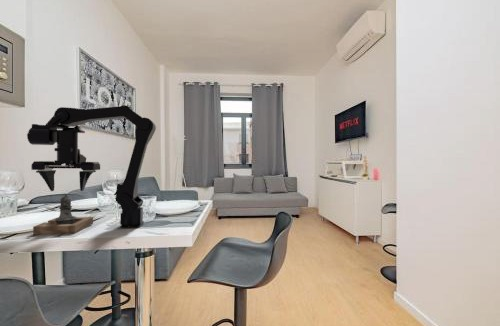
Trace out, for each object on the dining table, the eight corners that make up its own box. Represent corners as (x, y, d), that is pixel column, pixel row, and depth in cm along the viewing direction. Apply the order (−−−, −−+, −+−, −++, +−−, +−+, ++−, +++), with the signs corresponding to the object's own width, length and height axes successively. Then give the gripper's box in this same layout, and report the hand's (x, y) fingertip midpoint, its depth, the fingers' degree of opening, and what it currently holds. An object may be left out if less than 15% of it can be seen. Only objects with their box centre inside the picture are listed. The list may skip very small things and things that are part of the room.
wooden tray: (92, 223, 91) (92, 216, 91) (75, 233, 79) (75, 225, 79) (56, 224, 89) (57, 217, 89) (33, 234, 77) (33, 226, 77)
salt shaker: (50, 230, 82) (50, 194, 82) (68, 225, 88) (68, 192, 87) (62, 232, 80) (63, 195, 80) (80, 227, 86) (80, 193, 86)
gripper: (106, 147, 93) (106, 188, 94) (52, 146, 90) (51, 188, 91) (93, 145, 82) (92, 192, 83) (30, 144, 79) (30, 192, 80)
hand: (67, 190), depth 84 cm, fingers open, 9 cm apart
